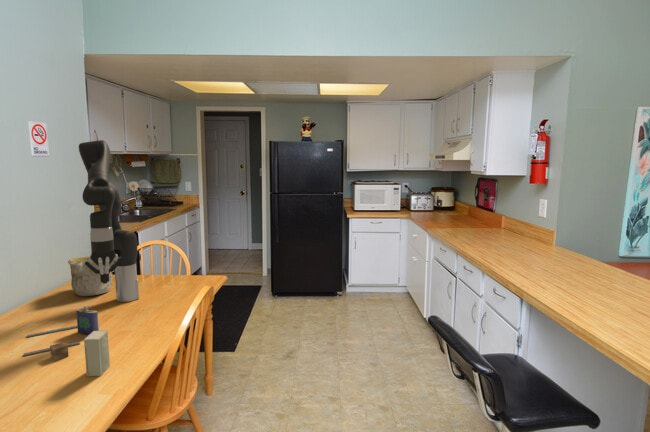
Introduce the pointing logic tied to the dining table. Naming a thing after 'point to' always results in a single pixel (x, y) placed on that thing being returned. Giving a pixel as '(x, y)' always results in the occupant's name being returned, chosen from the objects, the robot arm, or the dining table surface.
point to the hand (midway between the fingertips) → (104, 283)
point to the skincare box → (97, 353)
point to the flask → (87, 321)
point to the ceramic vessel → (88, 278)
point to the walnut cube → (59, 351)
